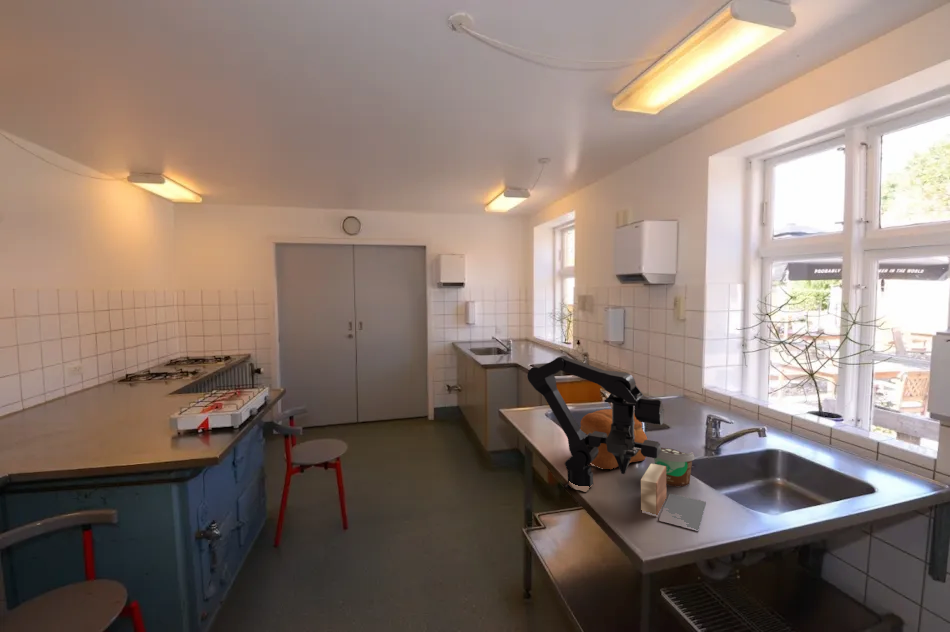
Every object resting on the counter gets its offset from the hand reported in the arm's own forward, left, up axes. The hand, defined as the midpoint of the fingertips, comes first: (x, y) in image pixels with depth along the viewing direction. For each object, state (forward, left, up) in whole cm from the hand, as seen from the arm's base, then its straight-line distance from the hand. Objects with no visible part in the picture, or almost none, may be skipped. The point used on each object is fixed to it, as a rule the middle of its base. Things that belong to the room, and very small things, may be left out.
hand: (623, 473), depth 117 cm
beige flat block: (+8, 0, -7) cm, 11 cm away
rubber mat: (+15, 0, -7) cm, 17 cm away
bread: (-11, +25, -7) cm, 28 cm away
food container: (+9, +16, -7) cm, 20 cm away
